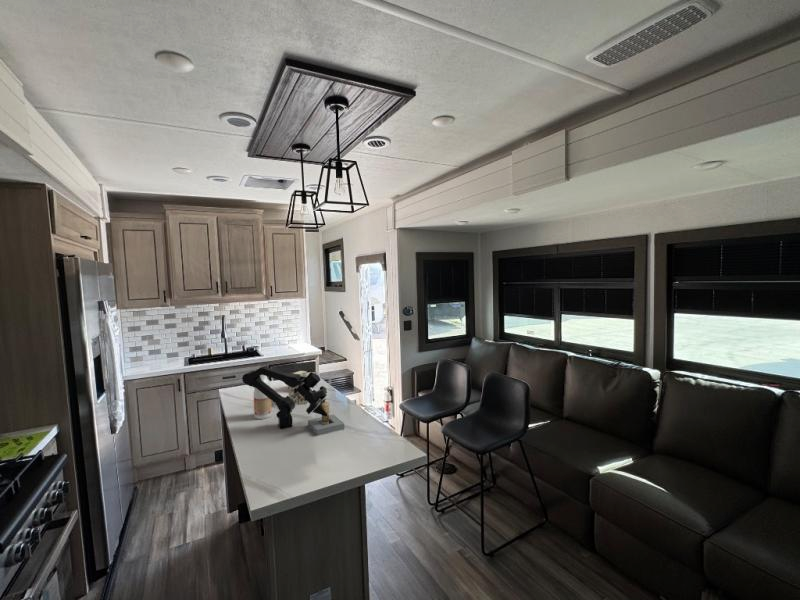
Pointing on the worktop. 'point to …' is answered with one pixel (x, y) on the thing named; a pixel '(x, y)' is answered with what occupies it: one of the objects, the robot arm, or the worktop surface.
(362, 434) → the worktop surface
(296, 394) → the decorative jar
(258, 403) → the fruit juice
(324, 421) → the oak peg
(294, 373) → the stack of blocks
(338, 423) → the charcoal socket board
